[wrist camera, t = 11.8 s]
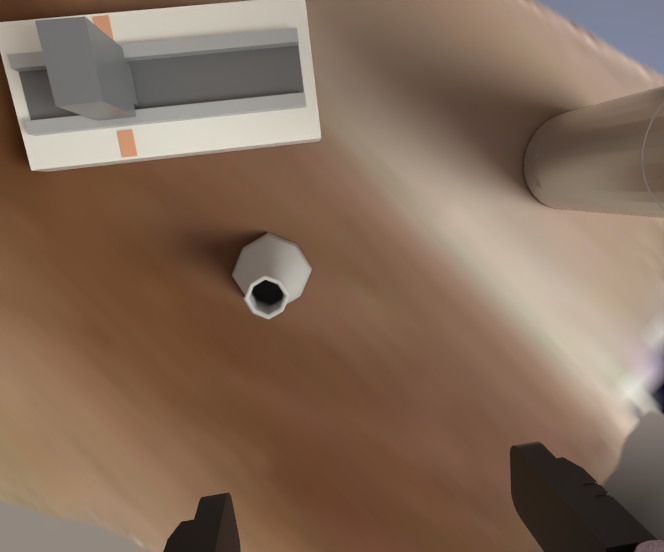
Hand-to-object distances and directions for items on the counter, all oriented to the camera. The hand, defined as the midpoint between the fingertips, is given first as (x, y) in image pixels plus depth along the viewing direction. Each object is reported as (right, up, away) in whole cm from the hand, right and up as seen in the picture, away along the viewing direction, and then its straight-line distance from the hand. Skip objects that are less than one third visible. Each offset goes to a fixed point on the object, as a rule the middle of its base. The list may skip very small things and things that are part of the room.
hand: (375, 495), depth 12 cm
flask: (-7, +7, +29) cm, 31 cm away
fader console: (-15, +22, +25) cm, 36 cm away
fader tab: (-19, +21, +22) cm, 35 cm away
